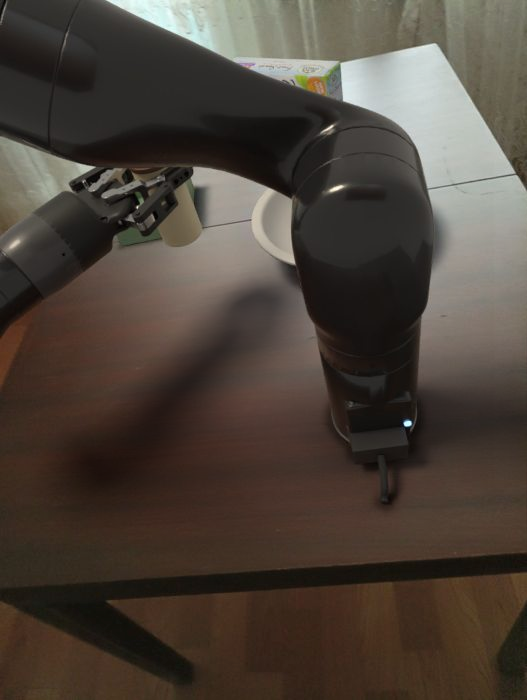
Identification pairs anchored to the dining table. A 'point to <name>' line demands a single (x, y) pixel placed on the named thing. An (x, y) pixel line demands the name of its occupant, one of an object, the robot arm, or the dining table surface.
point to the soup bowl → (274, 225)
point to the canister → (175, 212)
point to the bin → (134, 234)
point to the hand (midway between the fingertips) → (172, 159)
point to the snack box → (300, 73)
